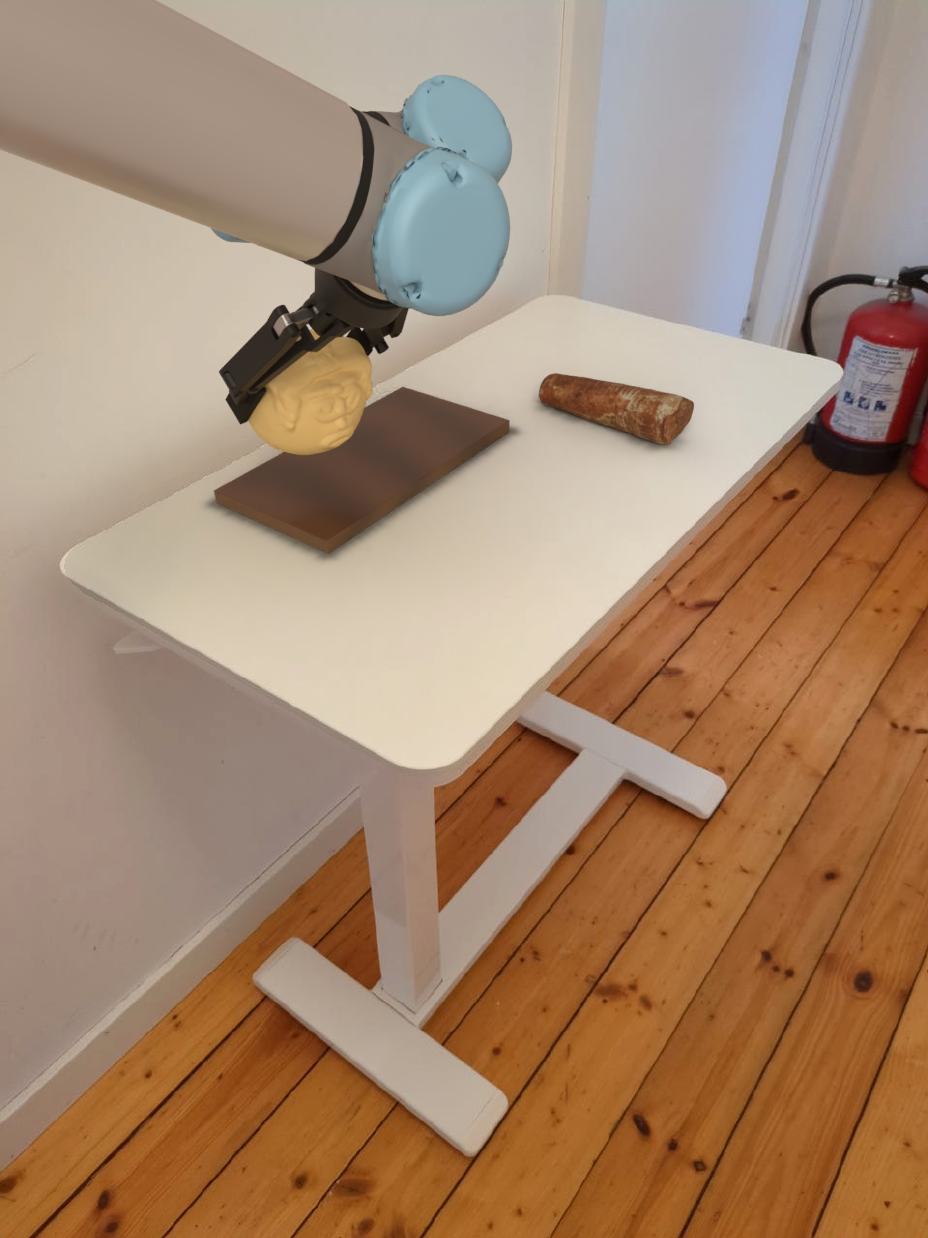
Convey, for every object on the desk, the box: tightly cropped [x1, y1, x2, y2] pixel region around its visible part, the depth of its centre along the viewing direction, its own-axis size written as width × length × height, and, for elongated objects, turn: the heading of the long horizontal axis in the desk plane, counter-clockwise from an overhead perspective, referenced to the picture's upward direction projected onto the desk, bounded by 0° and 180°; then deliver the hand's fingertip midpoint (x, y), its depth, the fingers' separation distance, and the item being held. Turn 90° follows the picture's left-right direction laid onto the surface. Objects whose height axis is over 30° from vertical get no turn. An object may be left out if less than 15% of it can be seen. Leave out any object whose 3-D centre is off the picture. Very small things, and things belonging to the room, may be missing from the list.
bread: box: [538, 372, 695, 445], centre depth 103 cm, size 6×19×6 cm, turn 49°
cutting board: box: [213, 386, 511, 554], centre depth 97 cm, size 30×16×2 cm, turn 143°
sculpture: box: [247, 328, 374, 455], centre depth 85 cm, size 11×12×11 cm
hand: (289, 390), depth 87 cm, fingers closed on sculpture, 11 cm apart
